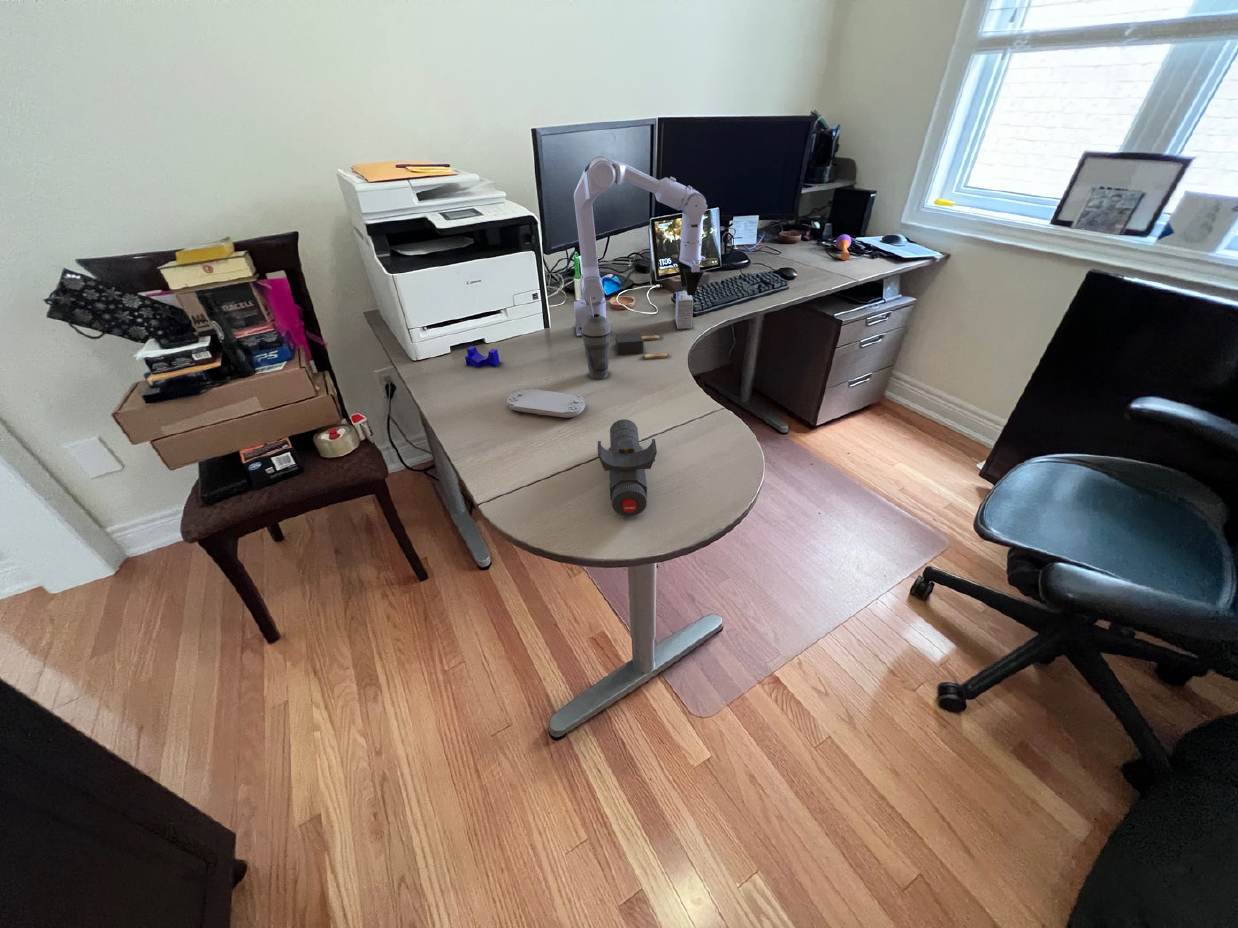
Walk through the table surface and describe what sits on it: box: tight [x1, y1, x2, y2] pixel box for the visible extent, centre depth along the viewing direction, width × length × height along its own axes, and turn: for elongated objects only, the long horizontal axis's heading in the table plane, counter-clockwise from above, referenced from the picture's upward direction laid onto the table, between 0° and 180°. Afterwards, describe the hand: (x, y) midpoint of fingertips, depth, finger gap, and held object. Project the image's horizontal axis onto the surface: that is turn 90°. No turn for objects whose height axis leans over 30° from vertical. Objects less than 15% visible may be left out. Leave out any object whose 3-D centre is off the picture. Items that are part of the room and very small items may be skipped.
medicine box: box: [674, 290, 694, 330], centre depth 146 cm, size 8×4×9 cm, turn 179°
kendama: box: [835, 234, 852, 262], centre depth 202 cm, size 6×6×20 cm
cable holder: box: [464, 345, 501, 368], centre depth 129 cm, size 8×4×4 cm, turn 71°
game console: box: [506, 388, 586, 419], centre depth 111 cm, size 18×2×8 cm
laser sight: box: [597, 418, 658, 517], centre depth 88 cm, size 10×22×10 cm, turn 2°
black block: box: [614, 331, 644, 355], centre depth 135 cm, size 7×6×4 cm
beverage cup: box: [581, 296, 612, 380], centre depth 118 cm, size 7×7×20 cm
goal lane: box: [641, 334, 668, 360], centre depth 136 cm, size 6×14×1 cm, turn 6°
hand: (688, 290), depth 143 cm, fingers open, 7 cm apart
